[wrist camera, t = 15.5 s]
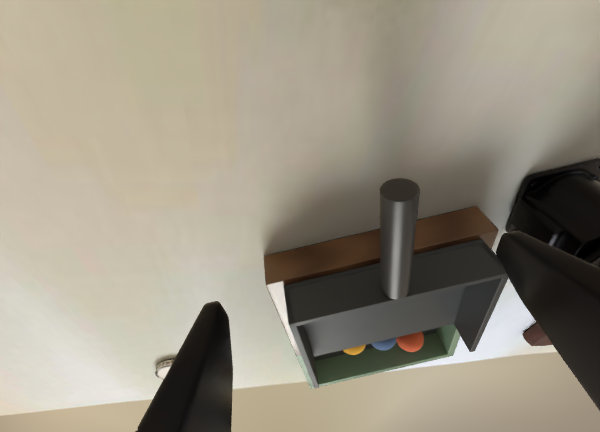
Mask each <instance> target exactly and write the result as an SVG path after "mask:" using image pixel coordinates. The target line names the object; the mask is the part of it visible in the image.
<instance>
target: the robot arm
mask: <svg viewBox="0 0 600 432" xmlns="http://www.w3.org/2000/svg"><path fill="white" fill-rule="evenodd" d="M506 232H507V233H504V234H503V235H502V237H501V239H500V242H499V245H498V247H497V250H496V254H497V257H498V260H499V261H500V263H501V265H502V267H503V268H504V270H505V272H506V274H507V276H508V277H509V279H510V281H511V283H512V284H513V286H514V288H515V290H516V292H517V293H518V295H519V297H520V298H521V300H522V302H523V303H524V305H525V306H526V307H527V309H528V310H529V312H530V313H531V315H532V316H533V317H534V319H535V320H536V322H537V323H538V324H539V326H540V327H541V329H542V330H543V331H544V333H545V334H546V336H547V337H548V338H549V340H550V341H551V343H552V344H553V346H554V347H555V348H556V350H557V351H558V353H559V354H560V355H561V357H562V358H563V360H564V361H565V362H566V364H567V365H568V367H569V368H570V369H571V371H572V372H573V374H574V375H575V377H576V378H577V379H578V381H579V382H580V384H581V385H582V386H583V388H584V389H585V391H586V392H587V393H588V395H589V396H590V398H591V399H592V400H593V402H594V403H595V405H596V406H597V408H598V409H599V410H600V158H599V159H595V160H591V161H587V162H583V163H578V164H574V165H570V166H566V167H561V168H557V169H553V170H549V171H544V172H540V173H536V174H532V175H530V176H528V177H527V178H526V179H525V181H524V183H523V186H522V188H521V191H520V193H519V196H518V199H517V201H516V204H515V206H514V209H513V212H512V214H511V217H510V219H509V222H508V224H507V227H506ZM232 382H233V366H232V352H231V340H230V328H229V319H228V315H227V313H226V312H225V310H224V309H223V307H222V305H221V304H220V303H219V302H218V301H215V302H210V303H207V304H205V305H204V306H203V308H202V310H201V312H200V314H199V315H198V317H197V319H196V321H195V323H194V325H193V326H192V328H191V330H190V332H189V334H188V336H187V338H186V339H185V341H184V343H183V345H182V347H181V349H180V350H179V352H178V354H177V356H176V358H175V360H174V361H173V363H172V365H171V367H170V369H169V371H168V373H167V374H166V376H165V378H164V380H163V382H162V384H161V385H160V387H159V389H158V391H157V393H156V395H155V396H154V398H153V400H152V402H151V404H150V406H149V408H148V410H147V411H146V413H145V415H144V417H143V419H142V420H141V422H140V424H139V426H138V430H137V431H136V432H231V415H232Z"/></svg>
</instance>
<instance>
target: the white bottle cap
mask: <svg viewBox="0 0 600 432" xmlns="http://www.w3.org/2000/svg"><path fill="white" fill-rule="evenodd" d="M173 361H174V360H167V361H164V362H161V363H160V364H158V365H157V367H156V371H155V374H156V376H157V377H159V378H161V379H164V378H165V376H166V374H167V373H168V371H169V369H170V367H171V365H172V363H173Z"/></svg>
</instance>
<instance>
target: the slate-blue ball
mask: <svg viewBox="0 0 600 432" xmlns="http://www.w3.org/2000/svg"><path fill="white" fill-rule="evenodd" d="M396 340H397V337H396V338H392V339H387V340H383V341H379V342H375V343H371V344H372V345H373V346H374V347H375V348H376V349H378V350H389V349H391V348H392V347H393V346H394V345H395V343H396Z"/></svg>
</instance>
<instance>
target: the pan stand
mask: <svg viewBox="0 0 600 432" xmlns="http://www.w3.org/2000/svg"><path fill="white" fill-rule="evenodd" d="M497 233H498V228H497V227H496V226H495V225H494V224H493V223H492V222H491V221H490V220H489V219H488V218H487V217H486V216H485V215H484V214H483V213H482V212H481V211H480V210H479V208H478V207H476V206H475V207H471V208H467V209H462V210H458V211H454V212H450V213H445V214H441V215H437V216H433V217H429V218H424V219H420V220H417V223H416V232H415V242H414V251H413V255H415V254H419V253H423V252H427V251H432V250H436V249H440V248H444V247H449V246H453V245H457V244H461V243H465V242H470V241H474V240H478V239H483V241H484V242H485V243H486V244H487V245H488V246H489V248H490V249H492V247H493V244H494V241H495V238H496V236H497ZM376 263H380V229H378V230H374V231H369V232H365V233H361V234H357V235H352V236H348V237H344V238H340V239H336V240H331V241H327V242H323V243H319V244H314V245H310V246H306V247H302V248H297V249H293V250H289V251H285V252H281V253H276V254H272V255H268V256H264V268H265V281H266V286H267V288H268V291H269V293H270V295H271V298H272V300H273V302H274V305H275V307H276V309H277V312H278V314H279V316H280V319H281V321H282V323H283V326H284V328H285V330H286V333H287V335H288V337H289V339H290V342H291V344H292V346H293V349H294V351H295V353H296V355H297V356H298V355H301V354H300V351H299V349H298V346H297V344H296V341H295V339H294V337H293V334H292V332H291V329H290V327H289V324H288V316H287V309H286V301H285V294H284V285H287V284H292V283H296V282H300V281H304V280H309V279H313V278H317V277H321V276H326V275H330V274H334V273H338V272H343V271H347V270H351V269H355V268H360V267H364V266H368V265H372V264H376Z"/></svg>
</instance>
